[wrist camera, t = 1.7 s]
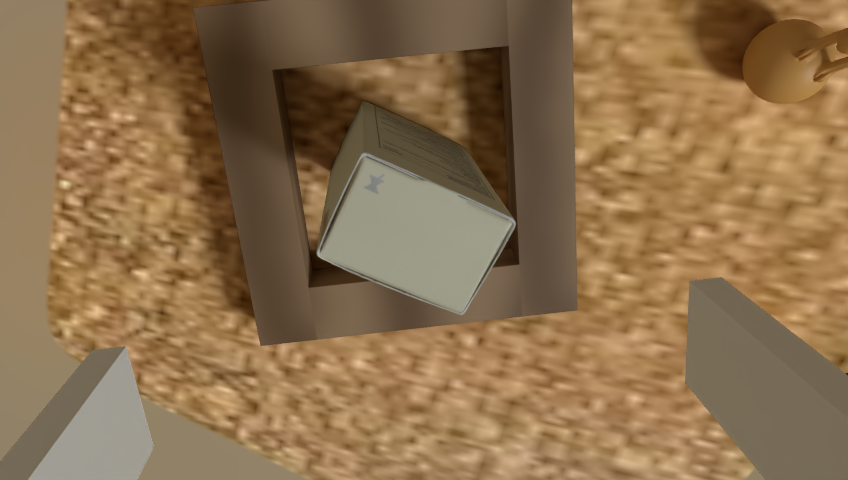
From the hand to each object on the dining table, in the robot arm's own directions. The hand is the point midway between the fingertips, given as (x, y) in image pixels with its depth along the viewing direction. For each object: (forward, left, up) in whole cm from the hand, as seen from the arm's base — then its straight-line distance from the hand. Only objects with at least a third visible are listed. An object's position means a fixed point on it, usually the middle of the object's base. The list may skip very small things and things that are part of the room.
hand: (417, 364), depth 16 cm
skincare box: (0, 0, -21) cm, 21 cm away
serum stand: (0, 0, -21) cm, 21 cm away
